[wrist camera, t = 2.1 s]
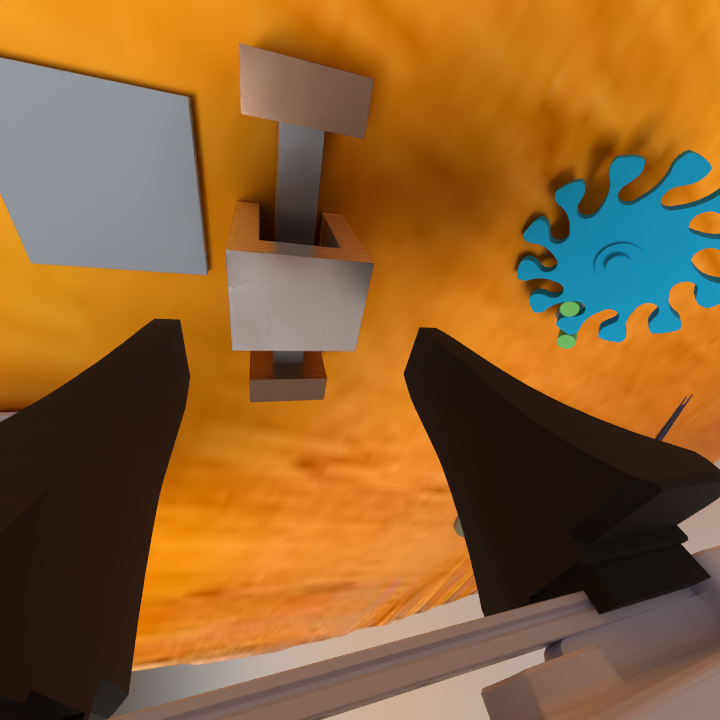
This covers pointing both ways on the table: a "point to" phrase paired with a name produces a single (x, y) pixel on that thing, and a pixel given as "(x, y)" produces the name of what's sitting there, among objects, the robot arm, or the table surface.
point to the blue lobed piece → (624, 252)
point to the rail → (298, 179)
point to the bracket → (295, 287)
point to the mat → (100, 171)
